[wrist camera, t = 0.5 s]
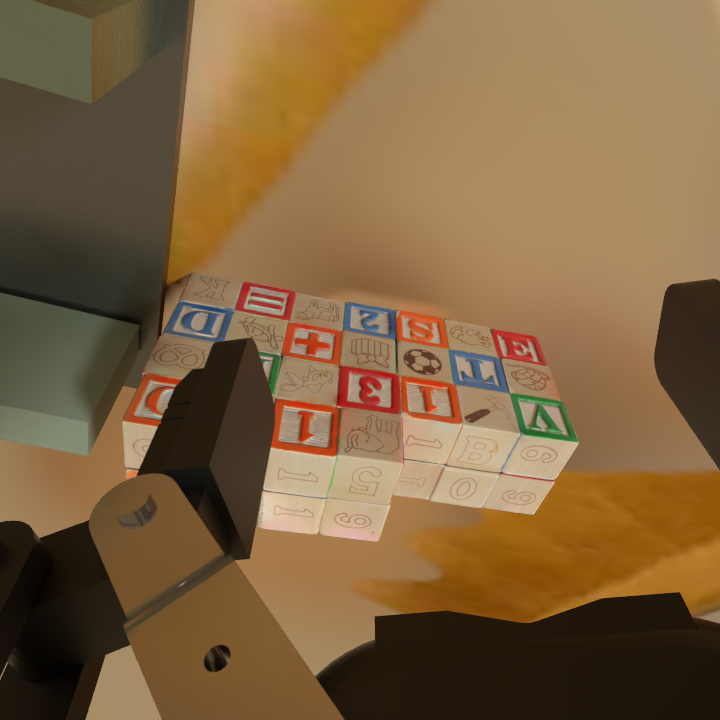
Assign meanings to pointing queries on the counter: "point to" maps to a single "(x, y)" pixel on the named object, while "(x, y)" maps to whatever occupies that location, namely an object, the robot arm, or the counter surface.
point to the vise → (92, 154)
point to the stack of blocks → (369, 406)
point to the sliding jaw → (60, 373)
